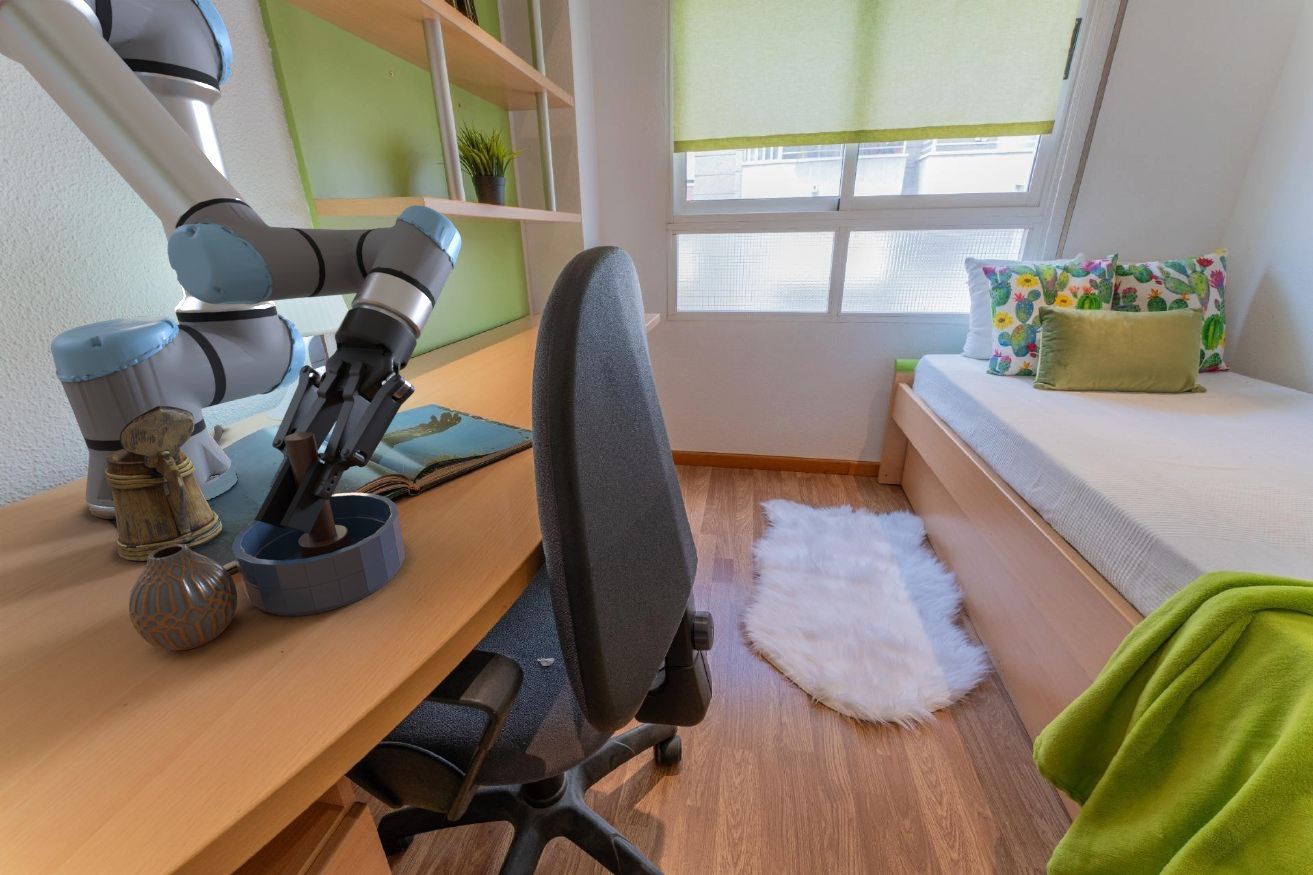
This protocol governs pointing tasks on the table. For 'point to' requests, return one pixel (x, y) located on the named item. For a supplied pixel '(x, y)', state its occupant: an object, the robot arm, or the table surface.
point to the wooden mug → (157, 486)
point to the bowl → (321, 559)
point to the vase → (182, 599)
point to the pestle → (324, 530)
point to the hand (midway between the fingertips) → (282, 526)
